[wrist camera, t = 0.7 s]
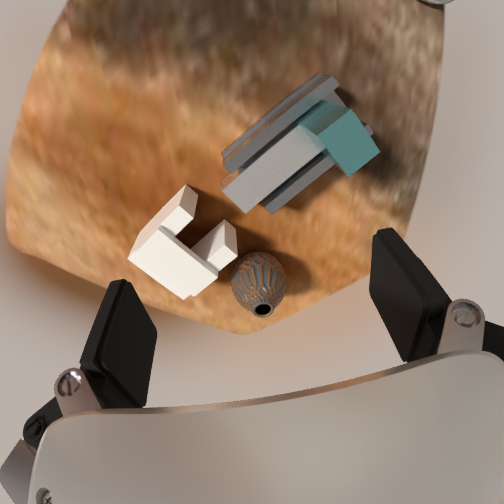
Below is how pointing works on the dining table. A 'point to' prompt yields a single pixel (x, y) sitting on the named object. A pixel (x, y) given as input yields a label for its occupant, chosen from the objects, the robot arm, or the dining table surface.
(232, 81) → the dining table surface
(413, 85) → the dining table surface
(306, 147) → the teal-tipped grey beam
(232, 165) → the guide channel
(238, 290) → the vase
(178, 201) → the socket block
